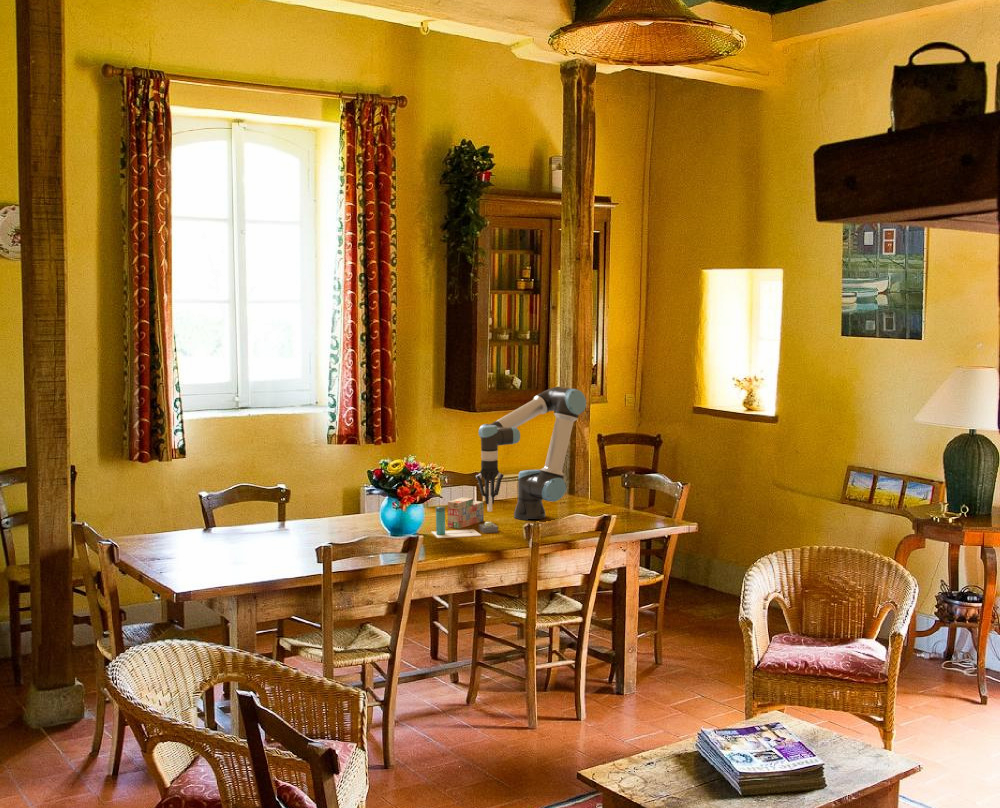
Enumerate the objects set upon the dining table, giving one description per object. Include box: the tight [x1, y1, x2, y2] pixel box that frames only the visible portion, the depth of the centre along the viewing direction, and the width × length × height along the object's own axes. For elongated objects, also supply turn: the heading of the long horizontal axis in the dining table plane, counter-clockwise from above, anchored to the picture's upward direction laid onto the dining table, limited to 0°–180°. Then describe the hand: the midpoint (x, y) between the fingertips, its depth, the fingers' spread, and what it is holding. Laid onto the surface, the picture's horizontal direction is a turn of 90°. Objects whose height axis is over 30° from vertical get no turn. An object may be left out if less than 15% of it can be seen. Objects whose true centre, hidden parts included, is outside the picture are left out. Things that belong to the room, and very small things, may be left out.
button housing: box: [478, 523, 499, 534], centre depth 503 cm, size 7×7×2 cm
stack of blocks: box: [447, 496, 485, 530], centre depth 517 cm, size 21×6×12 cm, turn 148°
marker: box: [435, 506, 446, 535], centre depth 493 cm, size 4×4×12 cm
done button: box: [484, 521, 493, 527], centre depth 503 cm, size 3×3×4 cm
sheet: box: [430, 528, 482, 539], centre depth 496 cm, size 20×12×1 cm, turn 107°
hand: (489, 510), depth 503 cm, fingers closed
